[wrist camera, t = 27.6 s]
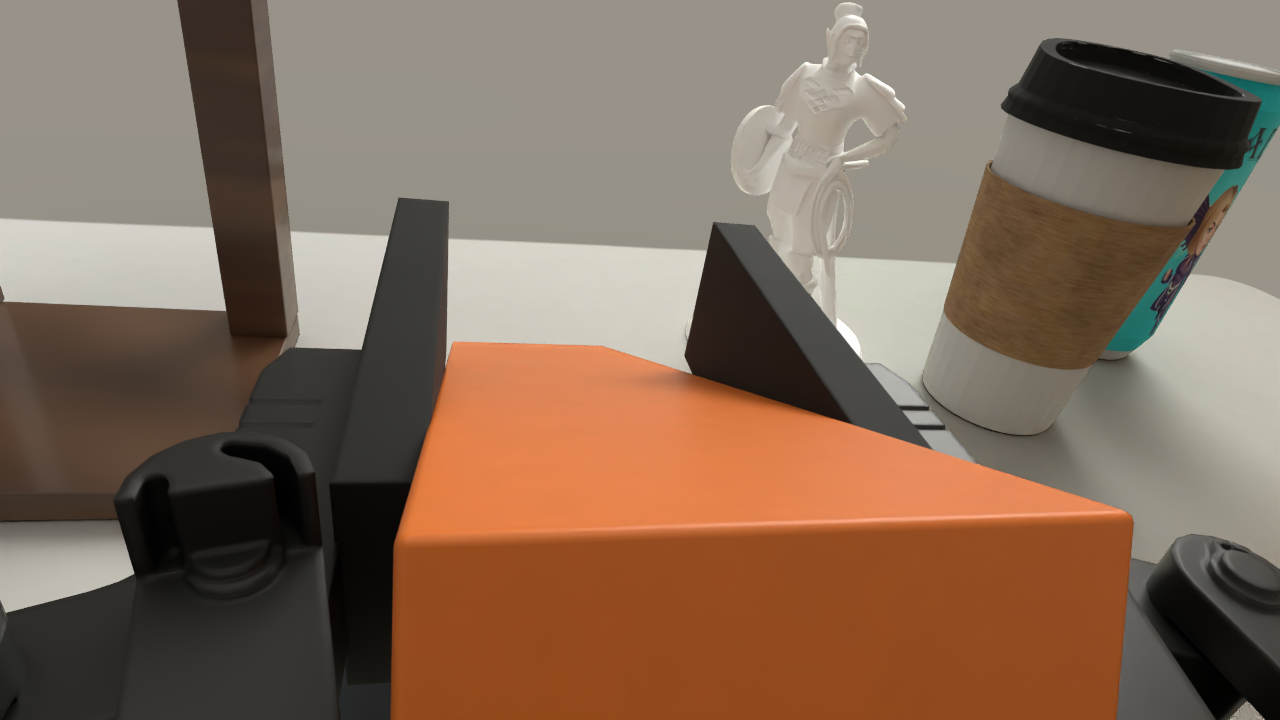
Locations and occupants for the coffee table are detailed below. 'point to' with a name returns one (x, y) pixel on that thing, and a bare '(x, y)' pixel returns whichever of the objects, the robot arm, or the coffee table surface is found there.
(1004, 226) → the coffee cup
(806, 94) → the figurine
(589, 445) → the orange block
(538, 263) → the coffee table surface
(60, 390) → the walnut rack
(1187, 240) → the beverage can
